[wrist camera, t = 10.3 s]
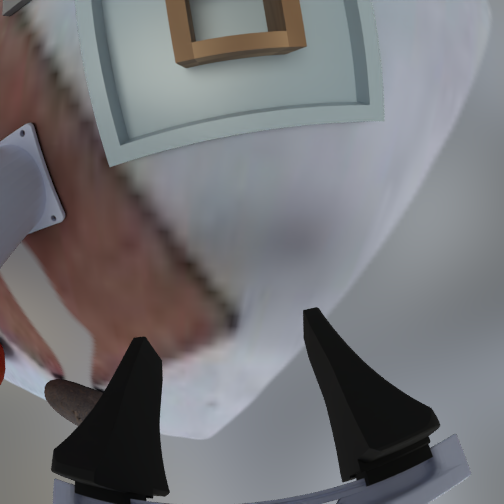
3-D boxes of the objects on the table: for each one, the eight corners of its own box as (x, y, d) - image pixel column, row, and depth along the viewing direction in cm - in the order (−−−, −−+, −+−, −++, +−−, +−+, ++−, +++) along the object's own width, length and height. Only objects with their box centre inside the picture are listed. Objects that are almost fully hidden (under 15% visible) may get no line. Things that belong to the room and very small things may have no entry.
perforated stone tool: (48, 376, 30) (38, 414, 24) (50, 364, 28) (38, 405, 22) (133, 410, 36) (130, 447, 31) (143, 401, 34) (140, 442, 29)
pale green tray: (122, 155, 15) (109, 167, 13) (89, -24, 7) (73, -34, 5) (365, 114, 16) (384, 121, 14) (335, -59, 7) (350, -72, 5)
